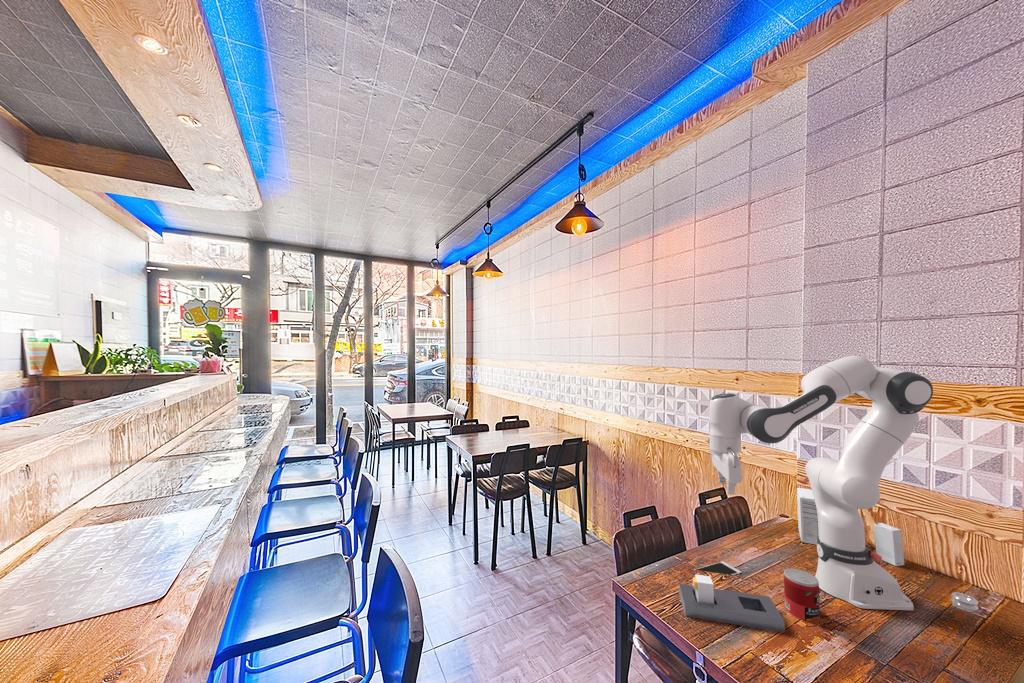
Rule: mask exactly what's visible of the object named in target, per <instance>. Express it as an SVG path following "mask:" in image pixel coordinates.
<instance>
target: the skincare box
mask: <svg viewBox="0 0 1024 683" xmlns="http://www.w3.org/2000/svg"><path fill="white" fill-rule="evenodd" d="M873 531H874V534H873V535H874V544H875V552H876V553H877V554H879V555H880V556H881V558H882V560H881V561H883V562H886V563H888V564H891V565H893V566H894V567H900V566H904V565H905V556H904V547H903V546H904V545H903V544H904V543H903V533H902V529H900V528H897V527H894V526H891V525H889V524H886V523H884V522H878V523H874V524H873Z"/></svg>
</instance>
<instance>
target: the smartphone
mask: <svg viewBox="0 0 1024 683" xmlns="http://www.w3.org/2000/svg"><path fill="white" fill-rule="evenodd" d="M693 570H694V571H700V572H708V573H715V574H723V575H731V576H737V575H736V574H738V575H740V573H741V574H742V571H741V570H739V569H737V568H736V567H733V566H732V565H730V564H729V563H727V562H726V561H719V562H715V563H712V564H709V565H705V566H702V567H699V568H698V567H697V568H694V569H693Z"/></svg>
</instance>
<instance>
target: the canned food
mask: <svg viewBox="0 0 1024 683" xmlns="http://www.w3.org/2000/svg"><path fill="white" fill-rule="evenodd" d="M783 585H784V586H783V588H784V589H783V590H784V591H783V592H784V608H785V610H786V611H787V613H789V614H790V615H791V616H793V617H795V618H796V619H799V620H801V621H804V622H808V623H818V622H819V621H821V611H820V610H821V607H820V606H821V605H820V588H819V582H818V579H817V578H816V577H815V575H813V574H812V573H810V572H807V571H805V570H802V569H797V568H793V567H792V568H791V567H790V568H786V569H784V571H783Z"/></svg>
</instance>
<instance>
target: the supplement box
mask: <svg viewBox="0 0 1024 683" xmlns="http://www.w3.org/2000/svg"><path fill="white" fill-rule="evenodd" d="M796 500H797V501H796V502H797V524H798V533H799V538H800V541H801V543H805V544H811V545H815V546H817V537H818V536H819V531H818V514H817V508H816V504H815V500H814V497H813V493H812V488H811V489H809V488H803V487H796Z"/></svg>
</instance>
